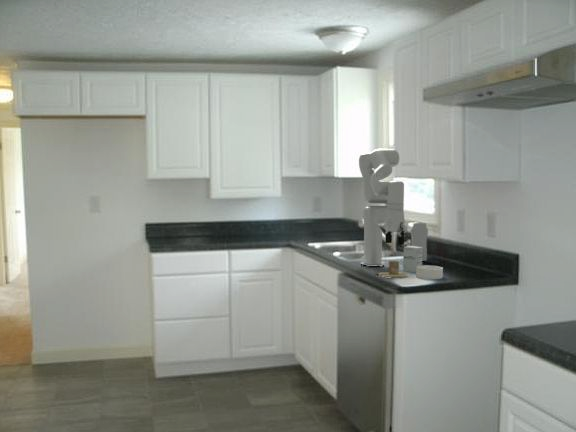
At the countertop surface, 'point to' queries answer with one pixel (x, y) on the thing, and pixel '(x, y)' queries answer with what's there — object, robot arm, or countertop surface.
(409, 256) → the supplement box
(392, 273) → the lid
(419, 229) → the tall pale column
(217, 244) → the countertop surface
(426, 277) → the bowl
